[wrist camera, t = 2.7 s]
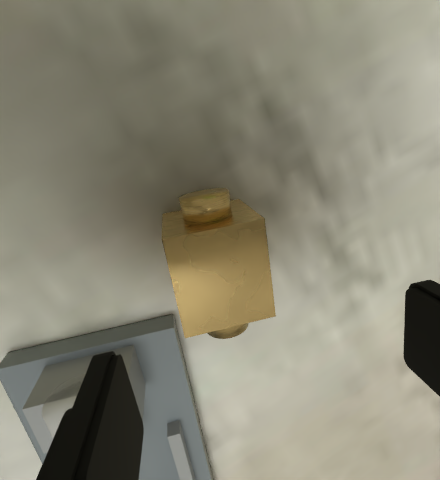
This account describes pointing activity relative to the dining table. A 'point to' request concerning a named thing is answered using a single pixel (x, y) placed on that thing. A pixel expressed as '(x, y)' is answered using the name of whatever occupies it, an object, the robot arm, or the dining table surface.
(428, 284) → the robot arm
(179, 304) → the coupler
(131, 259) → the dining table surface
